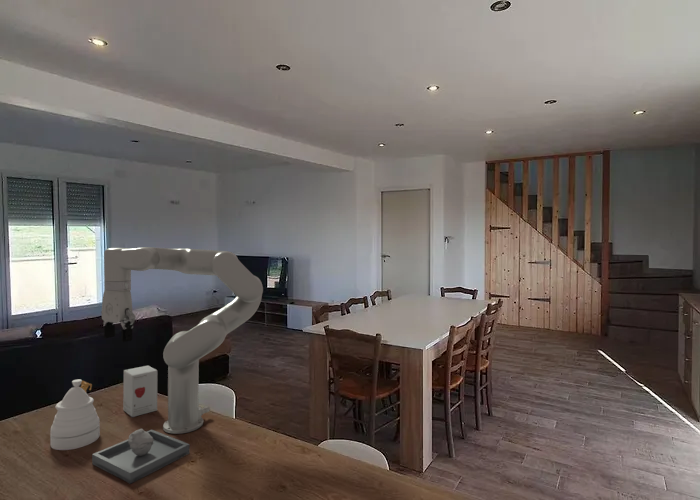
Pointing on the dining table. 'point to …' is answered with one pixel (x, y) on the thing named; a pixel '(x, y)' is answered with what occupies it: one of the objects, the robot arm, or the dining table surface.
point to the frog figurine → (140, 442)
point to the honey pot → (74, 420)
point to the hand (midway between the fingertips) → (118, 339)
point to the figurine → (85, 386)
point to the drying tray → (140, 457)
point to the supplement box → (140, 390)
